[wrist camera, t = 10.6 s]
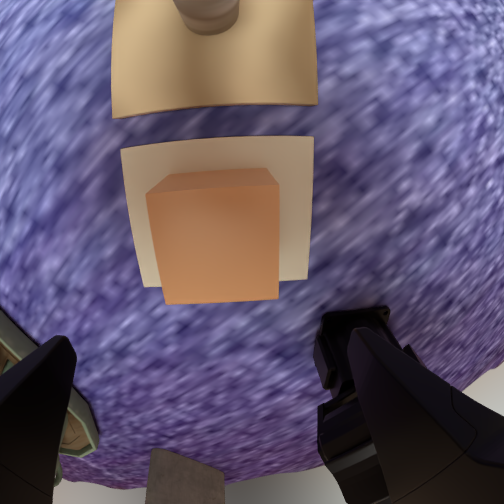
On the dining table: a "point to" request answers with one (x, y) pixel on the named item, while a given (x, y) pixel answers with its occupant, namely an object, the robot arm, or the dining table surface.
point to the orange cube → (216, 235)
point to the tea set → (78, 413)
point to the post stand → (212, 54)
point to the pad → (224, 158)
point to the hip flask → (182, 480)
